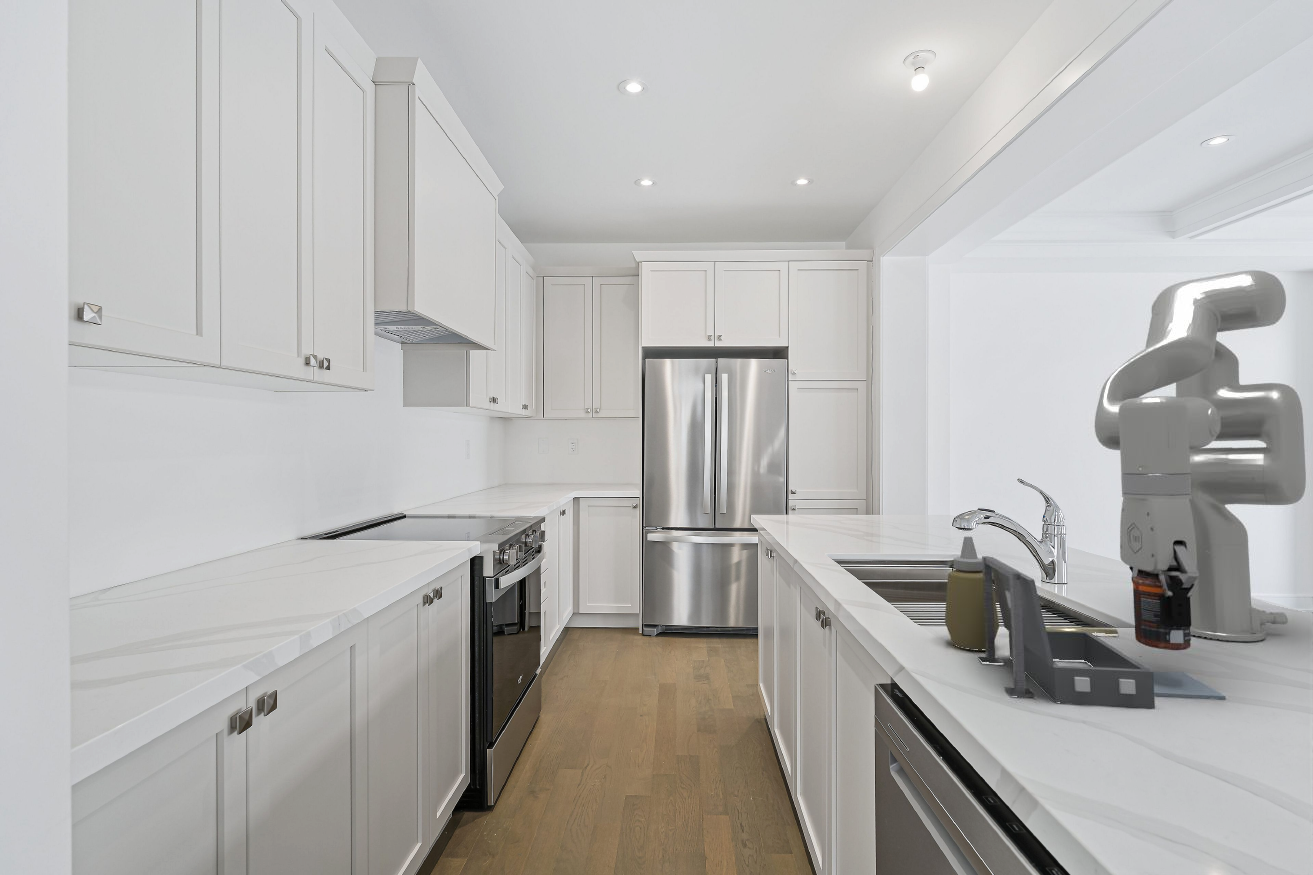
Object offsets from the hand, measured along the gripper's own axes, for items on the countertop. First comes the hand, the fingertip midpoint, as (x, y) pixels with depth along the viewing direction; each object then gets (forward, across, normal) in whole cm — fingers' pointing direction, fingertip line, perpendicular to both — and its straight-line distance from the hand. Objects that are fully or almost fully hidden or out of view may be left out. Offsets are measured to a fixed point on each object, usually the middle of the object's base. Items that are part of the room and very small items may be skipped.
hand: (1161, 618), depth 86 cm
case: (+9, 0, -11) cm, 14 cm away
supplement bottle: (+4, 0, 0) cm, 4 cm away
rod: (+9, -24, -1) cm, 26 cm away
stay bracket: (+9, 0, -20) cm, 22 cm away
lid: (-1, 0, -17) cm, 17 cm away
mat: (+9, 0, 0) cm, 9 cm away
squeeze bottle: (+9, -15, -20) cm, 27 cm away
